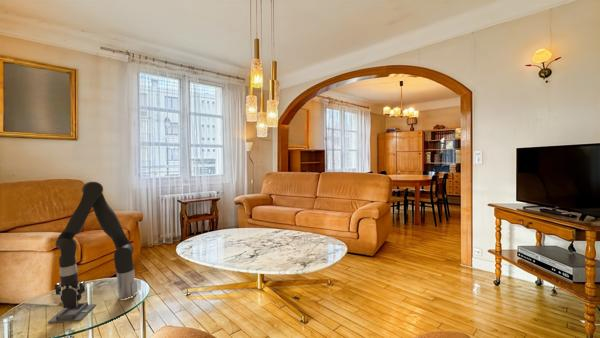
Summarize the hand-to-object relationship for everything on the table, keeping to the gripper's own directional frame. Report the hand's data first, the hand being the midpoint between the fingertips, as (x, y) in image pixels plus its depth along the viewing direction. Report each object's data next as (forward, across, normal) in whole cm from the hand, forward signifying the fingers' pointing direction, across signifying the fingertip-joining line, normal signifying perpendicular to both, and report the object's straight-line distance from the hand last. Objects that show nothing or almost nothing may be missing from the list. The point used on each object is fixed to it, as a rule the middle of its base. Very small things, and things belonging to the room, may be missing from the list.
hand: (71, 300), depth 158 cm
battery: (+4, 0, 0) cm, 4 cm away
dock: (+8, 0, 0) cm, 8 cm away
